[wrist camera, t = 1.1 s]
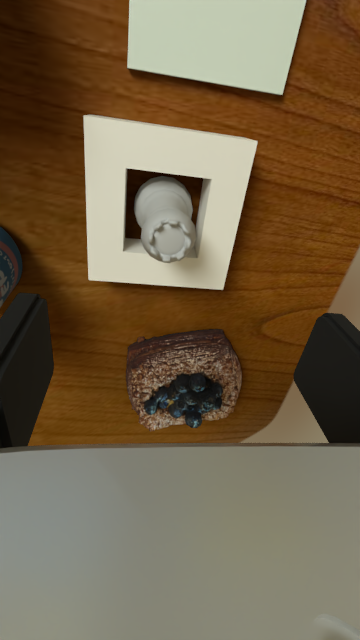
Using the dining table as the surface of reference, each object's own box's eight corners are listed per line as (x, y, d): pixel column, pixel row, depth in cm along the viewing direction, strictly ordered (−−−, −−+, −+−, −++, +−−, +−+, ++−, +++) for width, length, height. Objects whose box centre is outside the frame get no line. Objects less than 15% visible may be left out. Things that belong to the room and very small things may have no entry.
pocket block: (90, 114, 21) (83, 115, 18) (245, 137, 22) (257, 141, 20) (93, 263, 26) (88, 279, 24) (216, 273, 28) (223, 289, 26)
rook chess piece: (200, 188, 24) (222, 219, 17) (178, 241, 26) (190, 287, 20) (144, 164, 23) (144, 188, 16) (126, 223, 25) (120, 264, 18)
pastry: (116, 337, 31) (111, 379, 26) (235, 318, 31) (252, 357, 27) (138, 410, 37) (137, 455, 33) (238, 394, 38) (252, 436, 33)
